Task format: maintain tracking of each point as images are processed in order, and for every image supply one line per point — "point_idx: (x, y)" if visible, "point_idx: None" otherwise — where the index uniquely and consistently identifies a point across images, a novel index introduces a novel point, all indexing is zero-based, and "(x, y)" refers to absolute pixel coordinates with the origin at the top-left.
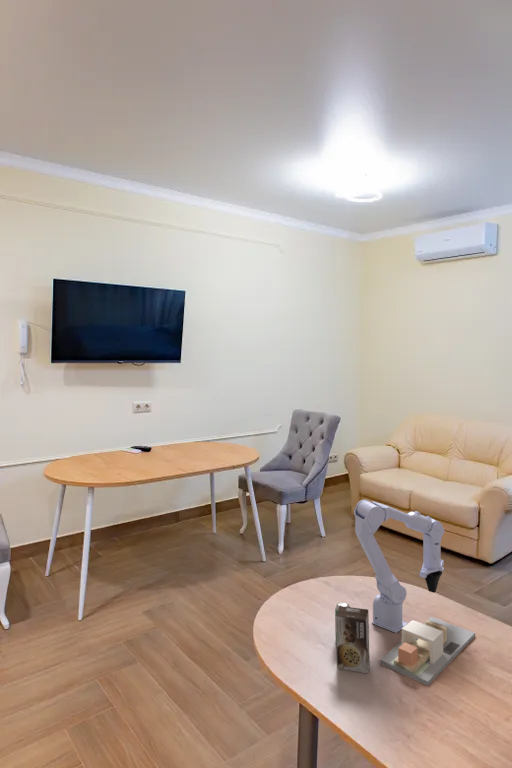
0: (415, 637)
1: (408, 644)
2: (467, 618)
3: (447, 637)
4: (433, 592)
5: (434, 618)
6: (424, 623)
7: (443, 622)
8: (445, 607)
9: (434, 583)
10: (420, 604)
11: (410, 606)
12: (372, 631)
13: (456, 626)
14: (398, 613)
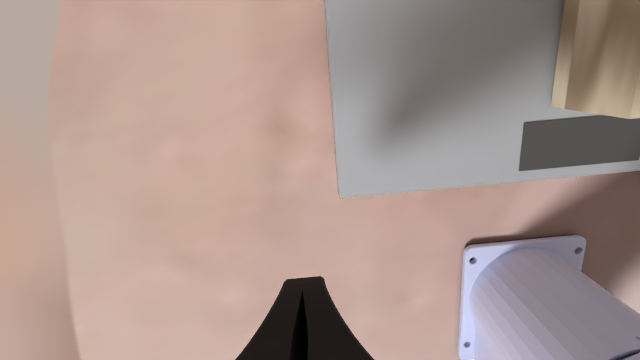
0: (617, 137)
1: None
2: (146, 56)
3: (504, 2)
4: (323, 282)
5: (343, 176)
6: (436, 184)
7: (347, 116)
8: (143, 212)
9: (360, 347)
10: (228, 308)
11: None
12: None
13: (334, 31)
14: (615, 299)
